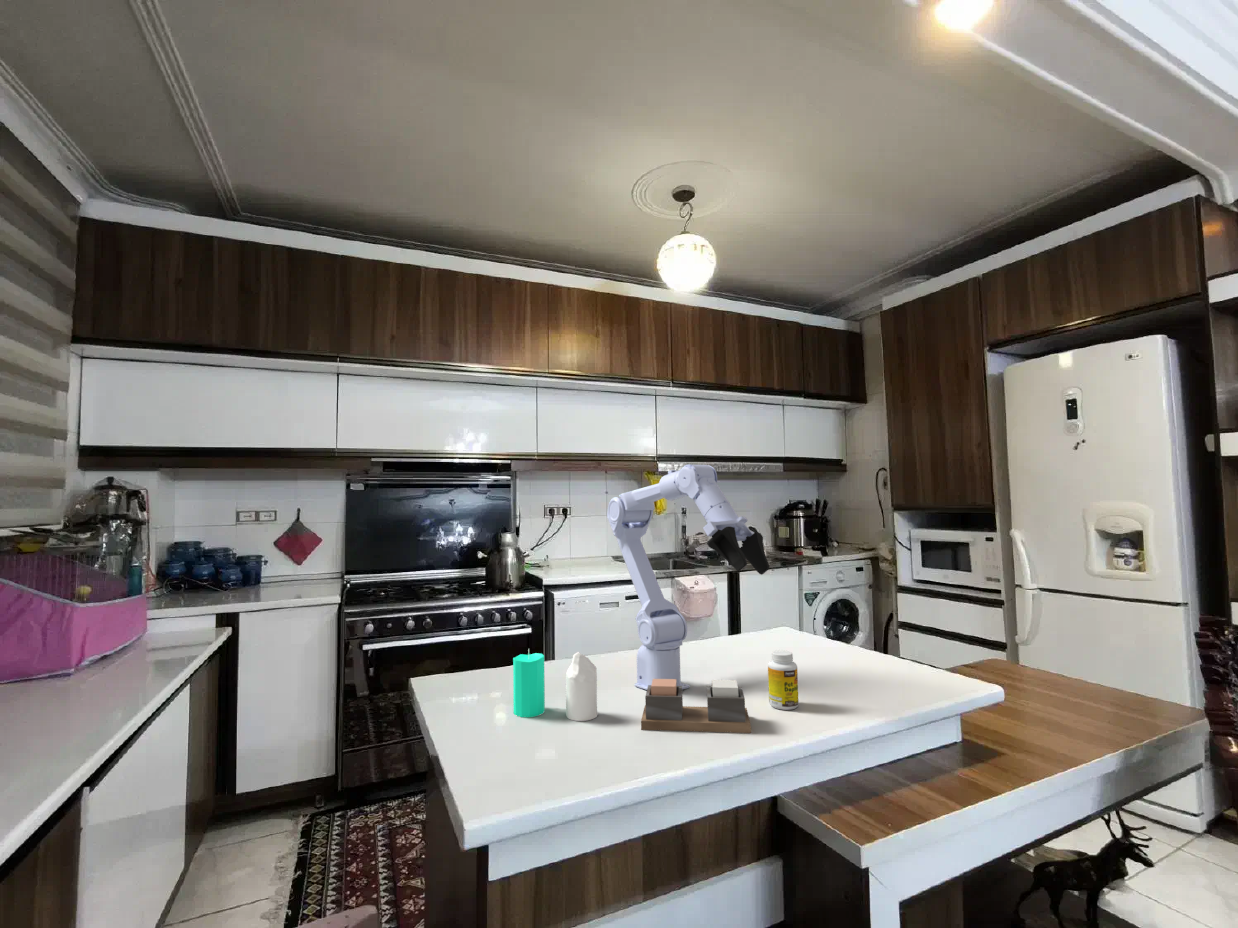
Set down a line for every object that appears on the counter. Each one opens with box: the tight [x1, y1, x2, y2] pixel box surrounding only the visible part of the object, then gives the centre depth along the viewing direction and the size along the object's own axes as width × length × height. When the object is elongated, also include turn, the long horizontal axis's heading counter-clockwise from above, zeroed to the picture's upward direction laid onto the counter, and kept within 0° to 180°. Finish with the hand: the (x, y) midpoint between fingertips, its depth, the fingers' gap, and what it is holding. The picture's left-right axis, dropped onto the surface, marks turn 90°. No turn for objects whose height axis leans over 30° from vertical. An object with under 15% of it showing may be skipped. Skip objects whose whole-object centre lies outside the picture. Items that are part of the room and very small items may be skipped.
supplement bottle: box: [767, 649, 799, 711], centre depth 111 cm, size 6×6×10 cm
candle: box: [512, 648, 546, 718], centre depth 111 cm, size 6×6×12 cm
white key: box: [711, 679, 739, 697], centre depth 103 cm, size 4×4×2 cm
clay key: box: [651, 679, 677, 696], centre depth 104 cm, size 4×4×2 cm
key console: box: [640, 685, 752, 734], centre depth 103 cm, size 8×19×6 cm, turn 82°
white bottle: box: [565, 651, 598, 722], centre depth 108 cm, size 6×12×6 cm
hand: (753, 569), depth 102 cm, fingers open, 7 cm apart
